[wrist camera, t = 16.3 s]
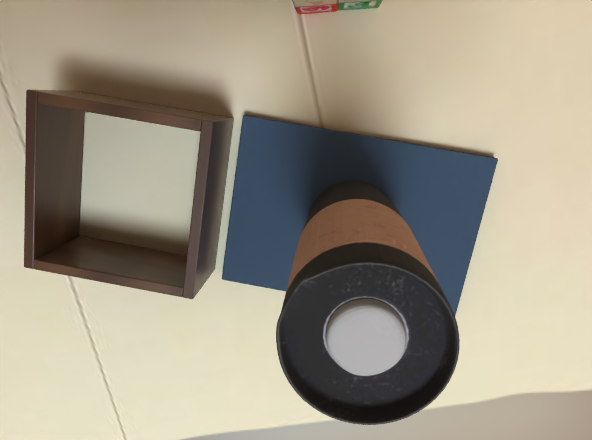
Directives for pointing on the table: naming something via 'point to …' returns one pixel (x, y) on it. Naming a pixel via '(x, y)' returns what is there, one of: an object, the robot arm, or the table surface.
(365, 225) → the travel mug
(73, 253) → the cube shelf
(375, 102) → the table surface
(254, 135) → the mat
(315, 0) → the stack of blocks
